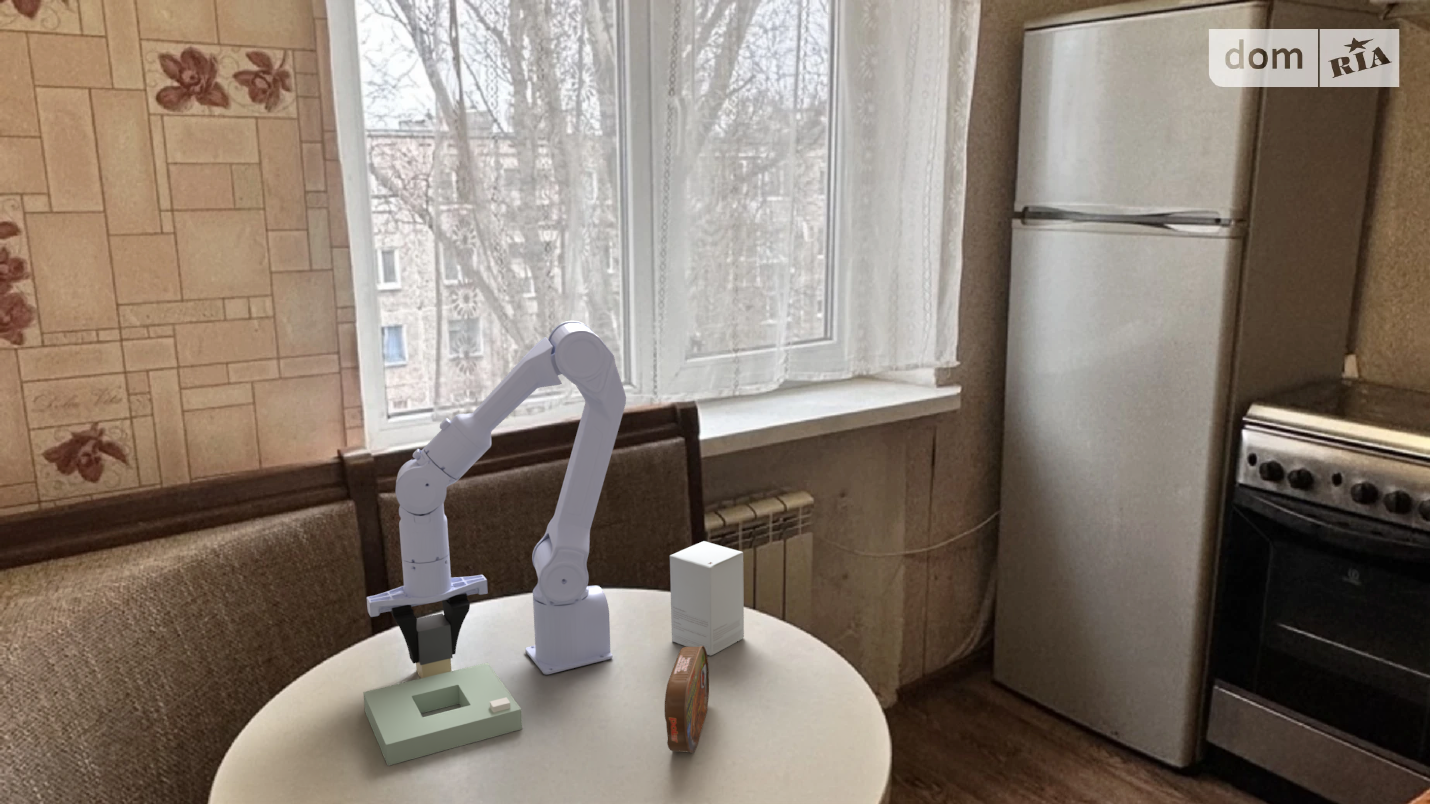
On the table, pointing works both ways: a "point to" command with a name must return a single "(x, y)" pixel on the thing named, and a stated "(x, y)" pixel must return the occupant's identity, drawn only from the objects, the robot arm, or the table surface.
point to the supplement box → (707, 596)
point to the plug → (433, 645)
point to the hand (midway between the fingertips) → (432, 655)
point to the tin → (687, 699)
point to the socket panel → (417, 736)
